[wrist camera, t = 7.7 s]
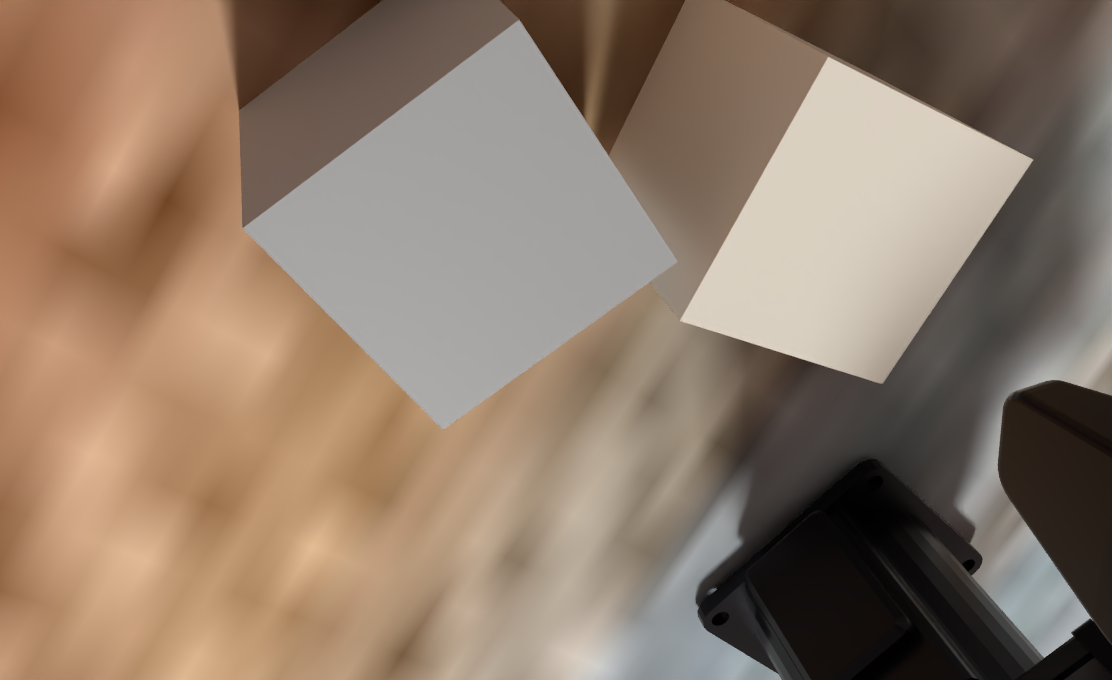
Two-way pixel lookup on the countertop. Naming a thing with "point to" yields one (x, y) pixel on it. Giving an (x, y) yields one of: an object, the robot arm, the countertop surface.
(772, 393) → the countertop surface
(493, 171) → the slate block
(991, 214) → the cream block
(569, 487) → the countertop surface
